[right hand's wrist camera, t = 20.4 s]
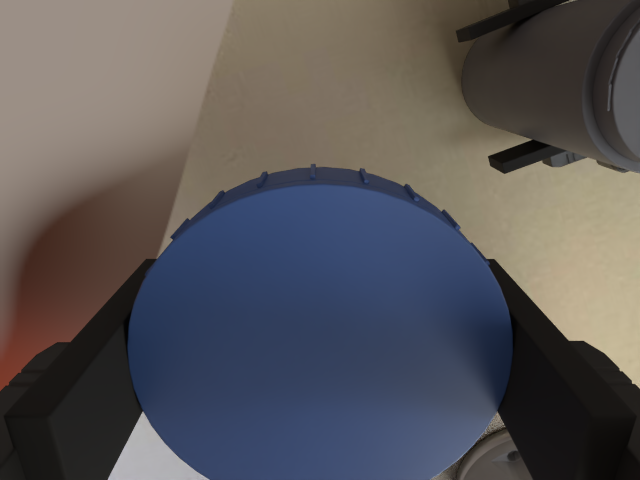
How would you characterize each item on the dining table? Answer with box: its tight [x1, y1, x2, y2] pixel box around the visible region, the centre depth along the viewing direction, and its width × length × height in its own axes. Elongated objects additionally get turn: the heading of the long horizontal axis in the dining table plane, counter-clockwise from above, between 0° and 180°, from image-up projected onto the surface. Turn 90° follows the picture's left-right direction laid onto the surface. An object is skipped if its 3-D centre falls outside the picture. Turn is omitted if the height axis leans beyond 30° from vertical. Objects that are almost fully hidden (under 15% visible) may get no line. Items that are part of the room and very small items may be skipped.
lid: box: [127, 164, 513, 480], centre depth 11 cm, size 9×9×2 cm
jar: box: [462, 0, 640, 173], centre depth 26 cm, size 8×8×19 cm
